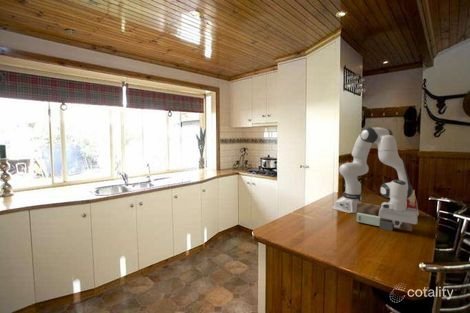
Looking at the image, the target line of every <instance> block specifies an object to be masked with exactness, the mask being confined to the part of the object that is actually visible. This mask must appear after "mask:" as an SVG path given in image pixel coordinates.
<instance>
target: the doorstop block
mask: <svg viewBox="0 0 470 313" xmlns="http://www.w3.org/2000/svg"><path fill="white" fill-rule="evenodd" d="M378 227H379V229H381V230H386V231H389V232H390V231H391V232H392V231H393V230H394V224H393V222H392V220H389V219H384V218H381V220H380V226H378Z"/></svg>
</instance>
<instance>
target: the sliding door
mask: <svg viewBox="0 0 470 313" xmlns="http://www.w3.org/2000/svg"><path fill="white" fill-rule="evenodd" d="M356 215H357V218H356V219H355V220H356V222H358V223H362V224H367V225H372V226H377V227H380V220H381V219H382V218H380V217H379V215H378V216H377V215H376V216H373V215H368V214H362V213H356Z"/></svg>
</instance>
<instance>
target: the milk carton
mask: <svg viewBox="0 0 470 313" xmlns="http://www.w3.org/2000/svg"><path fill="white" fill-rule="evenodd" d="M406 201H407V208H414V209H416V211H417V210H418V209H419V208H418V201H417V198H416V194H415V189H413V193H412V195H411V196H410V197H409V198H406ZM418 211H419V210H418ZM418 217H419V215H418V216H417V218H418Z"/></svg>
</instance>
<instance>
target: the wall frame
mask: <svg viewBox="0 0 470 313" xmlns="http://www.w3.org/2000/svg"><path fill="white" fill-rule="evenodd" d="M380 208H381V205H378V204H377V205H376V204H373V203H372V204H371V203H366V202H365V203H364V202H361V203H360V202H357V213H362V214H368V215H373V216H377V211H379V210H380ZM357 213H356V215H355V216H356V218H357ZM395 223H396V224H398V225H399V224H400V223H399V221H395ZM394 228H395V229H397V228H396V227H393V229H394ZM398 229H400V230H405V231H409V232H412V231H413V224H411V223H405V222H402V224H401V225H400V228H398Z"/></svg>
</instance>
